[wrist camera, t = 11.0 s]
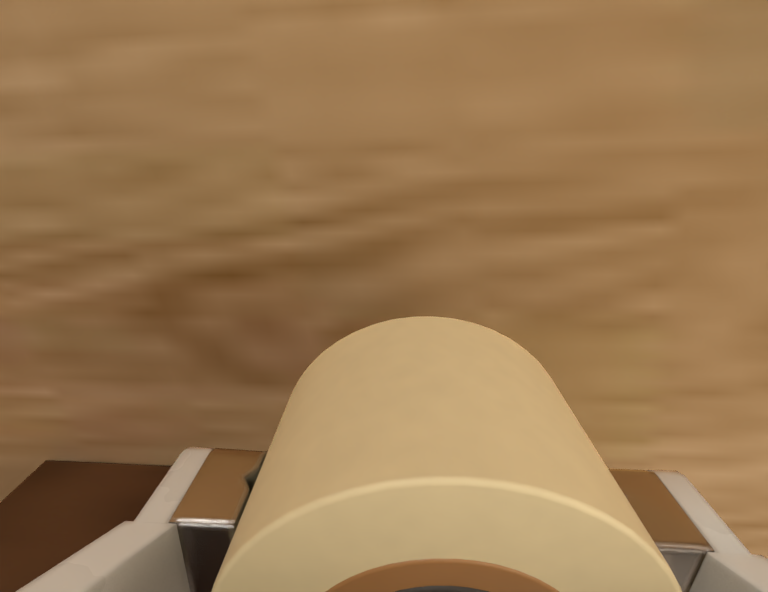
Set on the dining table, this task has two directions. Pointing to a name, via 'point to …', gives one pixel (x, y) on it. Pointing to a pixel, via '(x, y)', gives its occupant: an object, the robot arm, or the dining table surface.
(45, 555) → the shelf
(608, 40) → the dining table surface
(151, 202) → the dining table surface
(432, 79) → the dining table surface
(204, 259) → the dining table surface
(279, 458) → the cream tape roll
